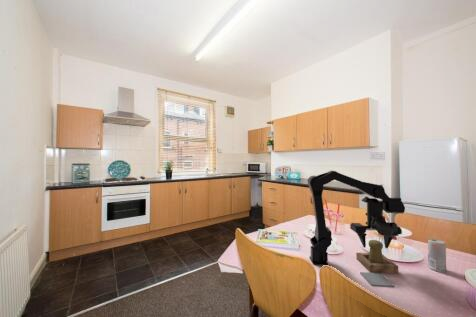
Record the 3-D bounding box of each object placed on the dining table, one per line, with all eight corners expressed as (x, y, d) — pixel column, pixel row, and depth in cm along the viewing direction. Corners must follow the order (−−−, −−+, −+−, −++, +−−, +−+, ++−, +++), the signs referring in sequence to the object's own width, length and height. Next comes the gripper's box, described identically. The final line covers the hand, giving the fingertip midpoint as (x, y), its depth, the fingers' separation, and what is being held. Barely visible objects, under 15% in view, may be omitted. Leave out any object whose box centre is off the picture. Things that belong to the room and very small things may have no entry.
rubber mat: (371, 285, 72) (371, 284, 72) (360, 273, 80) (360, 272, 80) (394, 287, 71) (394, 285, 71) (380, 274, 79) (380, 272, 79)
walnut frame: (370, 272, 80) (370, 265, 80) (356, 258, 91) (356, 252, 91) (398, 273, 79) (398, 266, 79) (381, 259, 90) (381, 253, 90)
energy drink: (441, 267, 84) (440, 239, 84) (449, 273, 79) (449, 244, 79) (425, 264, 85) (425, 237, 86) (433, 271, 80) (432, 242, 81)
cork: (387, 270, 82) (387, 244, 82) (371, 268, 83) (371, 243, 83) (380, 262, 88) (379, 238, 88) (365, 261, 89) (364, 237, 89)
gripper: (362, 217, 78) (363, 255, 78) (412, 218, 77) (412, 257, 77) (349, 210, 89) (349, 244, 89) (392, 210, 88) (392, 245, 88)
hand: (375, 247), depth 85 cm, fingers open, 9 cm apart
